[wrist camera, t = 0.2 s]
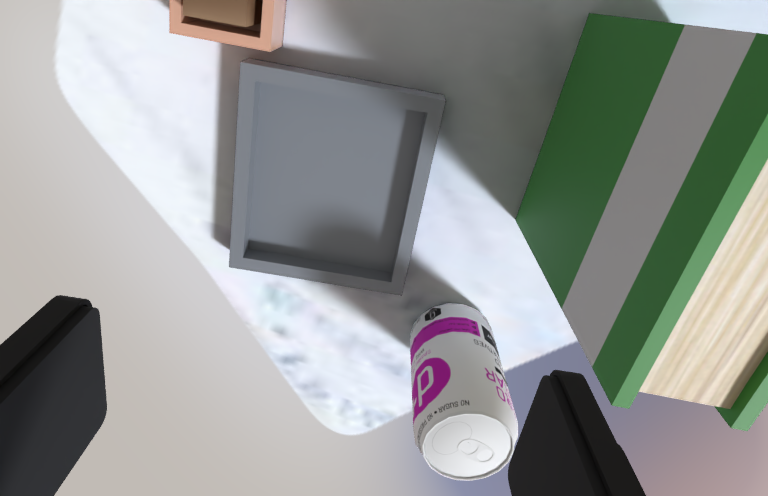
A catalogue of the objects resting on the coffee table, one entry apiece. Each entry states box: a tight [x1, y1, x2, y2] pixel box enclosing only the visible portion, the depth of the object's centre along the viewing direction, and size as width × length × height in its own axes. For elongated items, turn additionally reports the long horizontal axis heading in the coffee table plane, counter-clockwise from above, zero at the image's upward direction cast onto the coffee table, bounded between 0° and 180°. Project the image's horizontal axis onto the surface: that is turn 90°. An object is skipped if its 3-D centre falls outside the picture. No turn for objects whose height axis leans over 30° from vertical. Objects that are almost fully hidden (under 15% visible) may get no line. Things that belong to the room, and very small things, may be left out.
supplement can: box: [410, 303, 518, 481], centre depth 47 cm, size 8×8×15 cm
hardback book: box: [516, 13, 768, 431], centre depth 34 cm, size 18×7×24 cm, turn 168°
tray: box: [229, 58, 446, 296], centre depth 46 cm, size 18×16×2 cm
